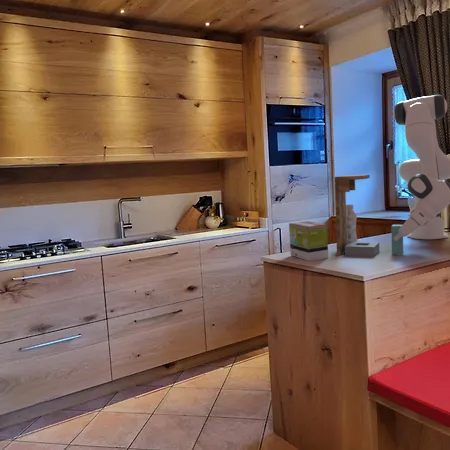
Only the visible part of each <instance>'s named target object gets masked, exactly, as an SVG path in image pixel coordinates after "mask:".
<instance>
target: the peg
mask: <svg viewBox="0 0 450 450" xmlns="http://www.w3.org/2000/svg"><path fill="white" fill-rule="evenodd" d="M402 225H403V224H392V225H391V228H390V231H391V232H390V233H391V255H395V254H400V256H402V255H403V254H404V236H402V237H401V238H399V239H398V240H397V241H395V240H394V237H395V236H396V235H397V234H398V233H399V232H398V230H399V229H400V228H401V226H402Z"/></svg>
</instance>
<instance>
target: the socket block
mask: <svg viewBox="0 0 450 450" xmlns="http://www.w3.org/2000/svg"><path fill="white" fill-rule="evenodd" d="M380 251H381V250H380V242H379V241H358V242H350V243H349V244H347V245H346V246H345V252H344V256H351V257H372V256H374V257H376V255H378V254H379V253H380Z"/></svg>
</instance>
